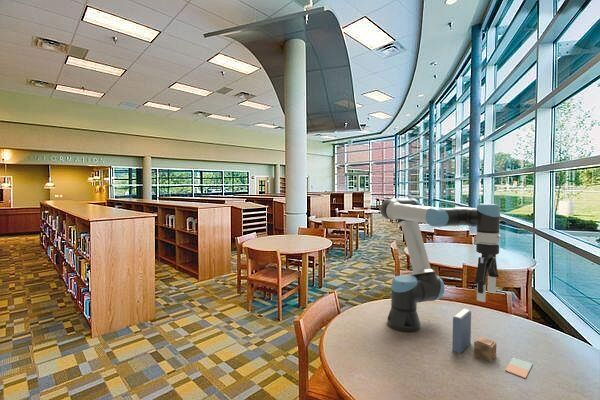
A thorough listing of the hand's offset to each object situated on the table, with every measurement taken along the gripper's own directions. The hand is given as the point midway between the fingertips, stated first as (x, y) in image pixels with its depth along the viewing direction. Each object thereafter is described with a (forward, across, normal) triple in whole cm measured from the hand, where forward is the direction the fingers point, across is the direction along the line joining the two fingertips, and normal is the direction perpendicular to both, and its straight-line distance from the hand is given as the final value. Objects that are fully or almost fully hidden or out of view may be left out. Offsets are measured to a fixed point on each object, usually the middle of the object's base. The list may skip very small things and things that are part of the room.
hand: (486, 296), depth 115 cm
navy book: (+24, 0, +9) cm, 25 cm away
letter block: (+24, 0, 0) cm, 24 cm away
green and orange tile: (+24, -3, -11) cm, 26 cm away
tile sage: (+24, +3, -11) cm, 26 cm away
